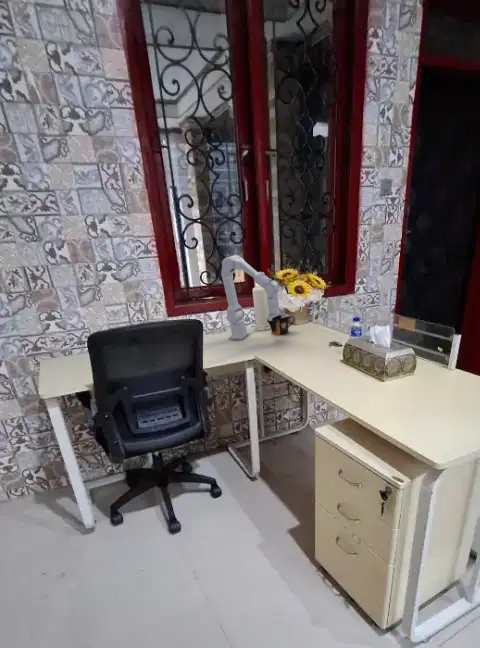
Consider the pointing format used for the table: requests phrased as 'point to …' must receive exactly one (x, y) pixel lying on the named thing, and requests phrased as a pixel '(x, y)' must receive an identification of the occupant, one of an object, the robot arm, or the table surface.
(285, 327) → the coffee mug
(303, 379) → the table surface
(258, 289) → the bottle
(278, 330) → the amber jar
